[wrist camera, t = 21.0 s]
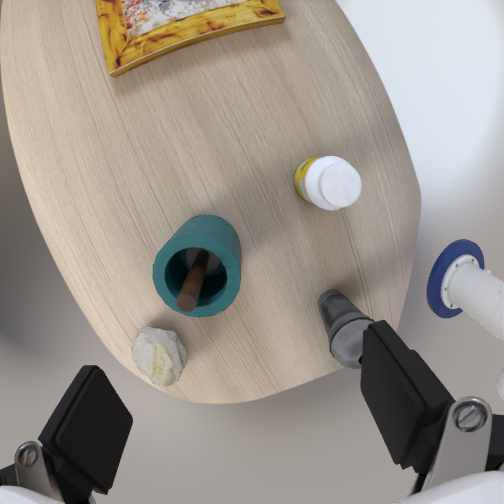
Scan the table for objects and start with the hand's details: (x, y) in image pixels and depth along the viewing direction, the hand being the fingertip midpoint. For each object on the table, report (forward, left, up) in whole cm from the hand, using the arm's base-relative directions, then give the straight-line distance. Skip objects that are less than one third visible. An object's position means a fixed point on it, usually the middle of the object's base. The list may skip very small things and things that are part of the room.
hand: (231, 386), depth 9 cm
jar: (+5, +4, -33) cm, 33 cm away
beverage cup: (-12, +17, -33) cm, 39 cm away
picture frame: (+3, -42, -33) cm, 54 cm away
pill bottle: (-12, -3, -33) cm, 35 cm away
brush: (+5, +4, -32) cm, 32 cm away
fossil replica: (+17, +20, -33) cm, 42 cm away
